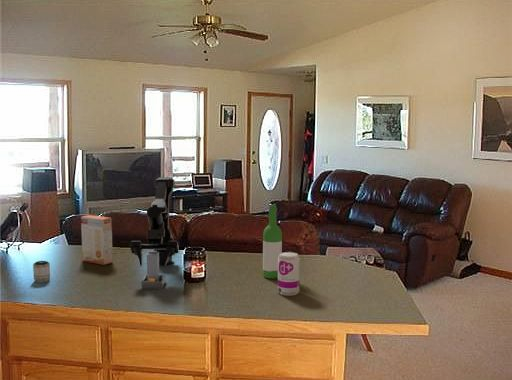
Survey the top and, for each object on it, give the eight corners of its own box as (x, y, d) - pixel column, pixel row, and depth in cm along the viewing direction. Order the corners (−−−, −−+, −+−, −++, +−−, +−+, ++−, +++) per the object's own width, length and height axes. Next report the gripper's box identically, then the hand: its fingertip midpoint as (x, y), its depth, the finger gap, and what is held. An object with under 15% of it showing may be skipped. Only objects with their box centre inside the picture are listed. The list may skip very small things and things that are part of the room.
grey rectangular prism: (149, 283, 228) (148, 251, 226) (159, 283, 228) (158, 251, 226) (147, 287, 223) (146, 254, 221) (157, 287, 223) (157, 254, 221)
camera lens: (44, 277, 235) (43, 259, 234) (53, 280, 232) (52, 261, 231) (30, 281, 230) (29, 262, 229) (39, 284, 227) (39, 264, 226)
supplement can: (292, 297, 211) (293, 258, 209) (273, 293, 216) (273, 255, 214) (303, 291, 218) (303, 253, 216) (284, 288, 223) (284, 250, 221)
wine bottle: (283, 279, 235) (284, 206, 231) (264, 279, 234) (265, 207, 230) (279, 273, 243) (280, 203, 239) (261, 274, 241) (261, 204, 237)
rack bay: (145, 282, 230) (145, 272, 229) (165, 282, 230) (164, 271, 229) (141, 288, 221) (141, 278, 220) (162, 288, 221) (161, 278, 221)
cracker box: (113, 262, 259) (112, 217, 256) (103, 265, 254) (102, 219, 251) (92, 258, 267) (90, 214, 264) (81, 261, 262) (80, 216, 259)
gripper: (130, 220, 226) (125, 255, 216) (177, 220, 226) (174, 255, 217) (134, 236, 235) (129, 269, 225) (179, 236, 235) (177, 269, 226)
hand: (152, 265), depth 223 cm, fingers open, 9 cm apart
